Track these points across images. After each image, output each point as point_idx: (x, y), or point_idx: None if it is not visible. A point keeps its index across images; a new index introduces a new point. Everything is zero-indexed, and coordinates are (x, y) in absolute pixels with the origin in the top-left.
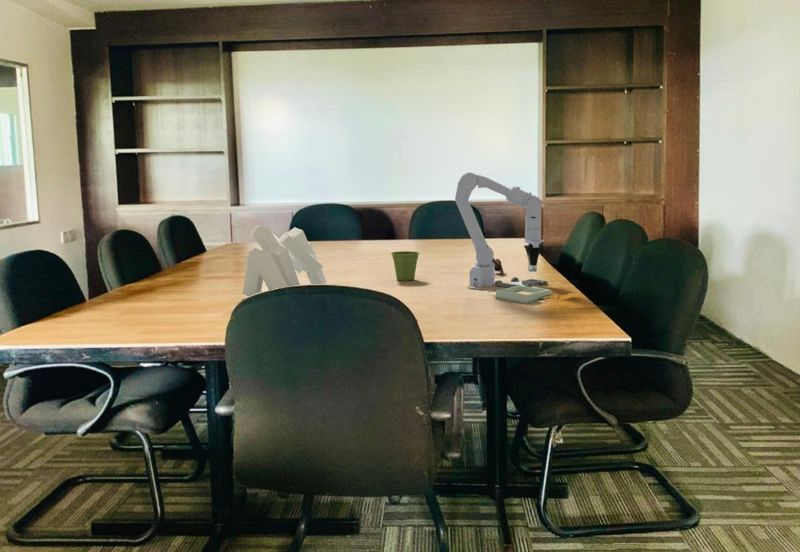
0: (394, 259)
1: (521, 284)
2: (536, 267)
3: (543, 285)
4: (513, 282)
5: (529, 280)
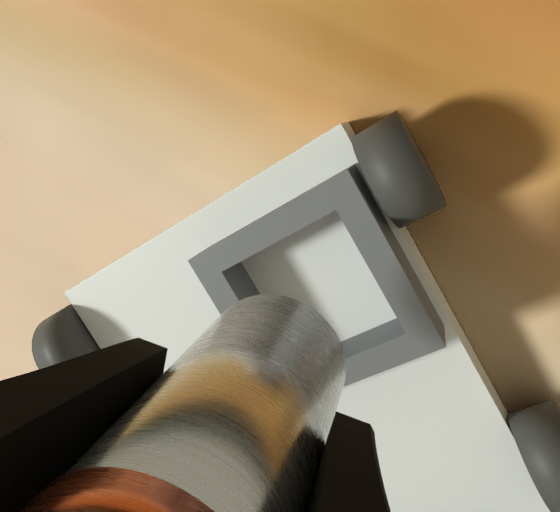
0: None
1: None
2: (316, 357)
3: (443, 199)
4: None
5: None
